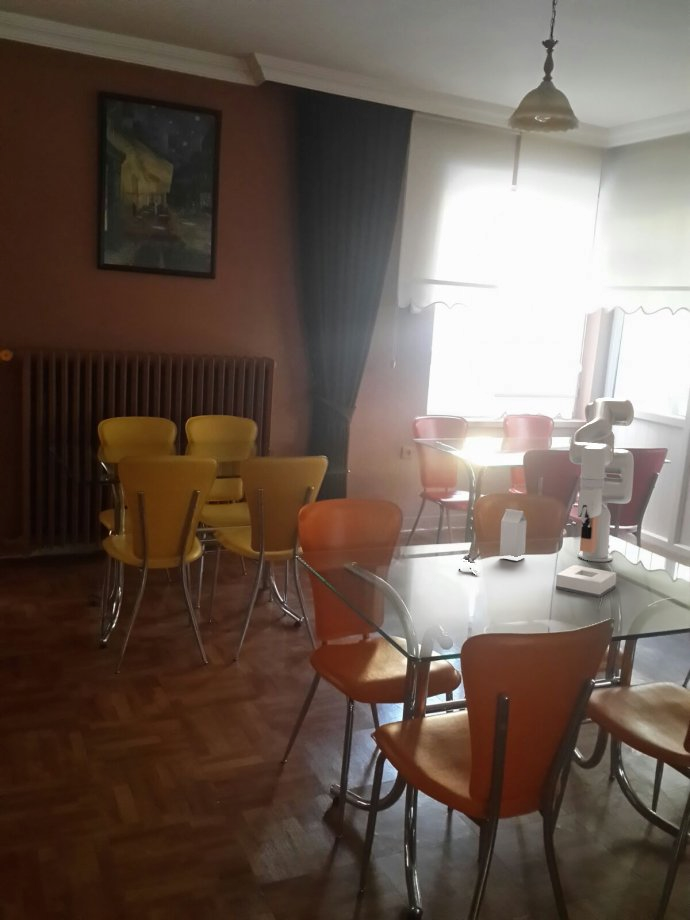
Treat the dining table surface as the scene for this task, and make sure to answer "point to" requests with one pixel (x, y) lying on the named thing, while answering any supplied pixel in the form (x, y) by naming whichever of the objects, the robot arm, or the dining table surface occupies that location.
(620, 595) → the dining table surface
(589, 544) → the peg
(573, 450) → the robot arm
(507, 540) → the milk carton
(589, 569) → the socket block
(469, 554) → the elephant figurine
